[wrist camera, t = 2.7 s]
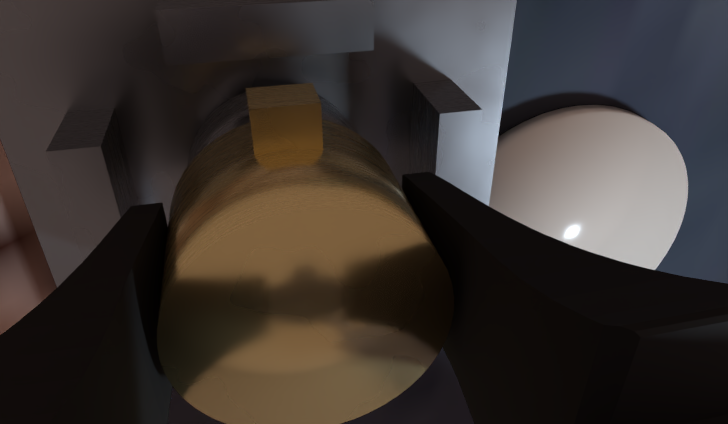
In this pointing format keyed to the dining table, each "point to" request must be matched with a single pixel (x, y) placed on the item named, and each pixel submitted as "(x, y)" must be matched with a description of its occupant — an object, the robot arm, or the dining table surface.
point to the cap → (296, 273)
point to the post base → (233, 93)
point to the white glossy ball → (593, 182)
